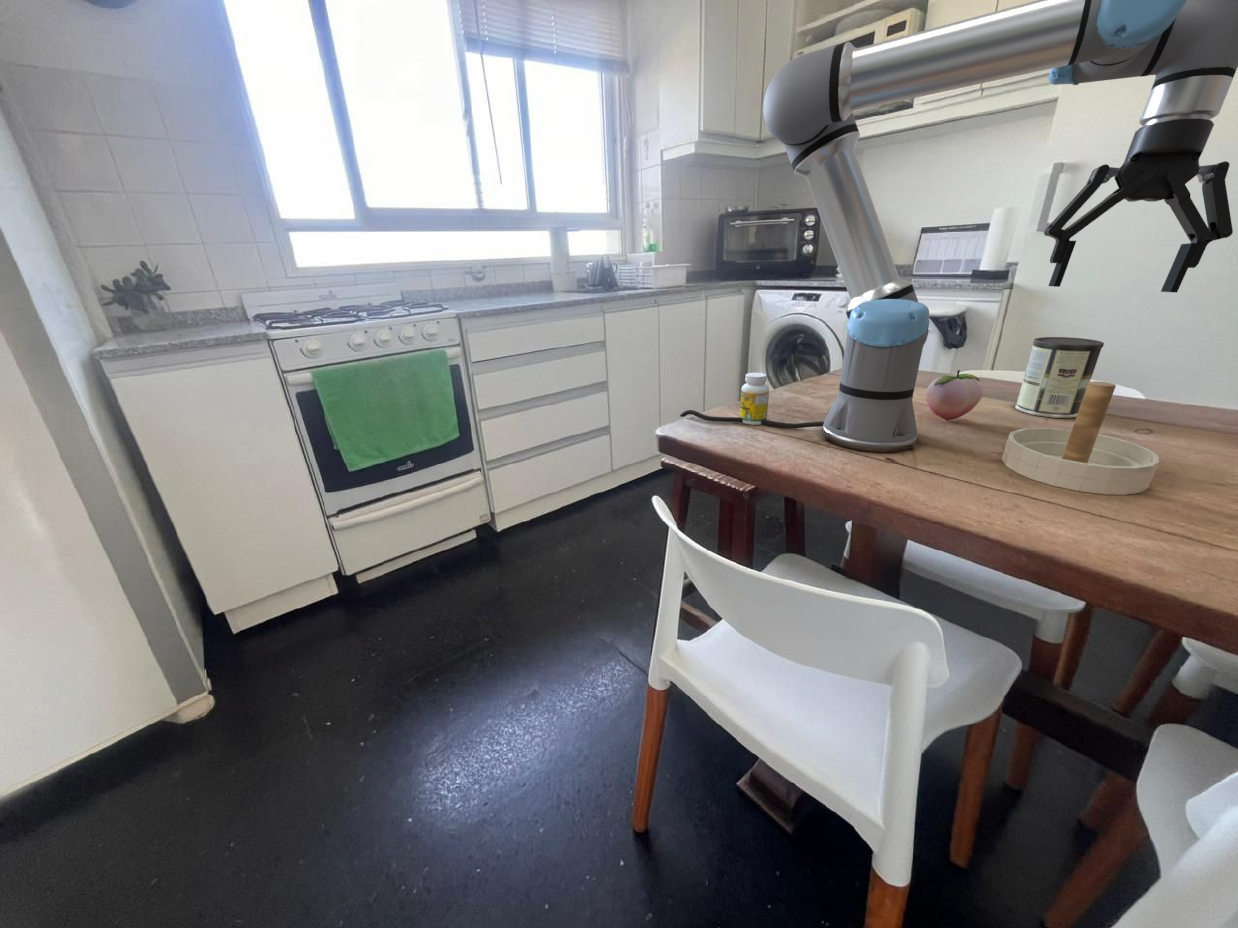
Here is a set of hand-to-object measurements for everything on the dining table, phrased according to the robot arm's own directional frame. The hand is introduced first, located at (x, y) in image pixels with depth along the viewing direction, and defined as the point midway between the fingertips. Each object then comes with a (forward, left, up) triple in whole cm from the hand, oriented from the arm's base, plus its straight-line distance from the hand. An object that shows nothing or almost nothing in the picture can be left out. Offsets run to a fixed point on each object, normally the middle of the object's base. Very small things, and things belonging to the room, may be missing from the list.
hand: (1109, 289), depth 75 cm
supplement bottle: (-51, -5, -25) cm, 57 cm away
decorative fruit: (-16, +8, -25) cm, 30 cm away
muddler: (-2, -15, -24) cm, 29 cm away
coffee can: (+3, +21, -25) cm, 33 cm away
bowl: (-3, -15, -25) cm, 29 cm away
